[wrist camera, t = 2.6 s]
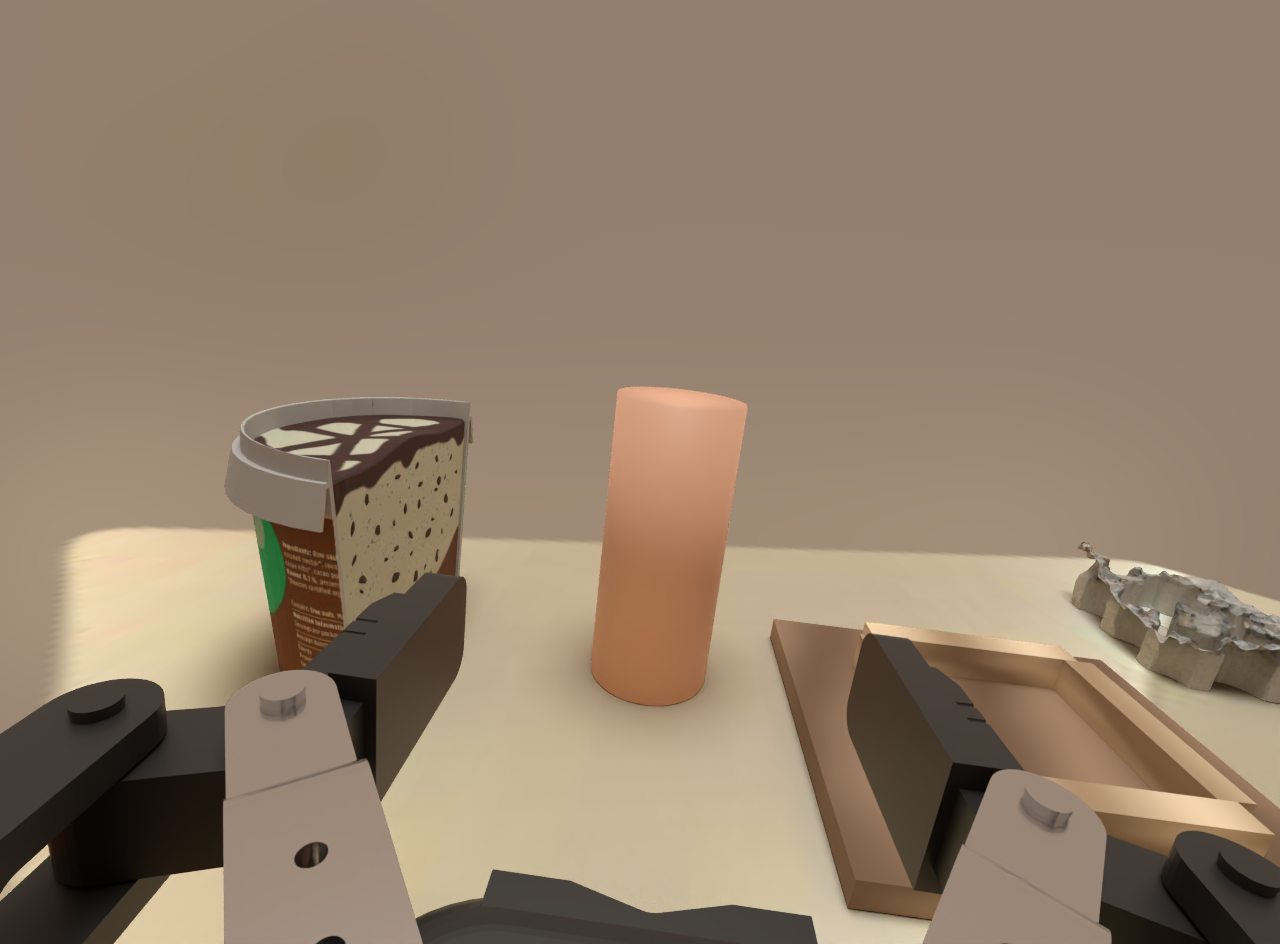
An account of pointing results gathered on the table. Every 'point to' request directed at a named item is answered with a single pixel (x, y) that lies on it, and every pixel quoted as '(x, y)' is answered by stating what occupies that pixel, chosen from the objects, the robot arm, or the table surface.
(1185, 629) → the egg carton
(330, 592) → the food container
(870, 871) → the board
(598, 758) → the table surface
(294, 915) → the robot arm
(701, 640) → the terracotta pin
